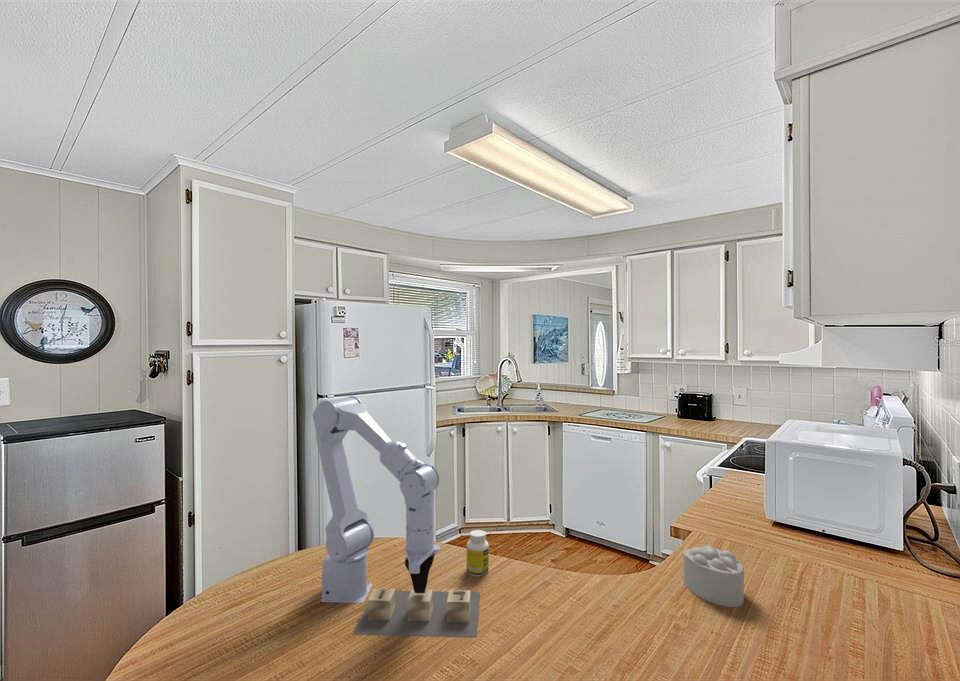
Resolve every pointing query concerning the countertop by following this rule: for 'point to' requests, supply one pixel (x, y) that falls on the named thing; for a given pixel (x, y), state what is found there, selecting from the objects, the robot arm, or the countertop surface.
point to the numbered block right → (459, 606)
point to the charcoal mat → (421, 628)
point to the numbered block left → (381, 604)
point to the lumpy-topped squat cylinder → (714, 575)
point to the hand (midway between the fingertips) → (420, 591)
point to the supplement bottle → (477, 553)
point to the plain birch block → (420, 606)
